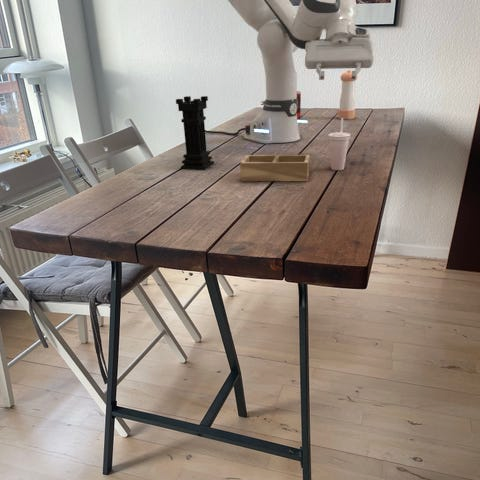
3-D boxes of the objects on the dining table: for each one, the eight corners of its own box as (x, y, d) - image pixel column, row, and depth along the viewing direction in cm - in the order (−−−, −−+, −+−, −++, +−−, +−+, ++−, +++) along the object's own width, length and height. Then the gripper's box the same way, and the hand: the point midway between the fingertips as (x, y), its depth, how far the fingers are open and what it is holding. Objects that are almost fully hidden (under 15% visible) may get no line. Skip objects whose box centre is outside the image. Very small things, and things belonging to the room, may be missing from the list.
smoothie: (348, 171, 144) (351, 120, 137) (326, 171, 146) (328, 120, 138) (348, 165, 150) (351, 116, 143) (327, 165, 151) (329, 116, 144)
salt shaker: (342, 116, 228) (345, 69, 218) (357, 117, 224) (360, 69, 215) (335, 118, 223) (337, 71, 213) (350, 119, 219) (353, 71, 210)
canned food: (281, 117, 234) (281, 91, 228) (298, 116, 234) (299, 90, 229) (284, 119, 227) (284, 93, 222) (301, 118, 228) (302, 92, 222)
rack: (246, 172, 149) (246, 155, 146) (309, 172, 146) (309, 154, 143) (241, 181, 141) (240, 163, 138) (307, 181, 137) (307, 162, 135)
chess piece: (214, 163, 160) (209, 96, 150) (204, 169, 154) (198, 99, 144) (191, 162, 163) (185, 96, 152) (181, 168, 156) (173, 99, 146)
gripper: (305, 31, 150) (302, 71, 147) (375, 29, 146) (373, 69, 143) (305, 48, 156) (302, 86, 153) (373, 46, 152) (371, 85, 149)
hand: (337, 78), depth 148 cm, fingers open, 8 cm apart
